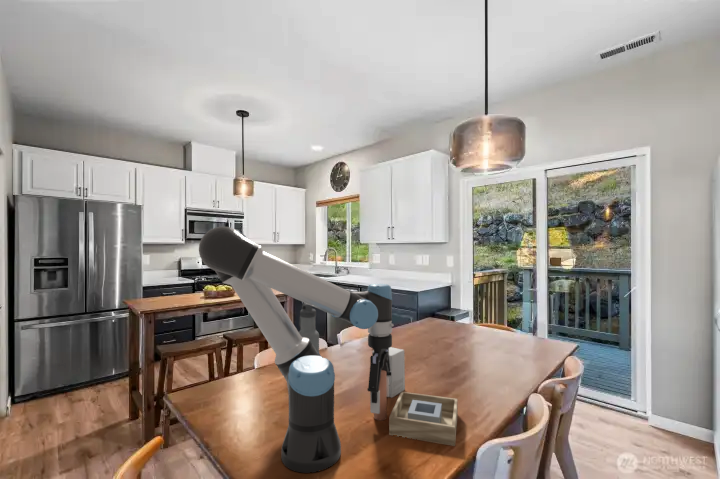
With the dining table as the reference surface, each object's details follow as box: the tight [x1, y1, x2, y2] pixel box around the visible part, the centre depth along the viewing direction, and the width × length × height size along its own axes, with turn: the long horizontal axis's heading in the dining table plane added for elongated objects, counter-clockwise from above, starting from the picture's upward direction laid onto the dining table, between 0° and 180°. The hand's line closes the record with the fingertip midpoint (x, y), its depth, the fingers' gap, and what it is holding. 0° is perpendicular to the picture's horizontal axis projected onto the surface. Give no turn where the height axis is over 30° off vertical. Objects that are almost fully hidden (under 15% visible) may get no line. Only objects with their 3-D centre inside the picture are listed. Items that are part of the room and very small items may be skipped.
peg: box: [373, 370, 388, 421], centre depth 108 cm, size 4×4×14 cm
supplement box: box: [371, 346, 406, 399], centre depth 127 cm, size 9×9×15 cm
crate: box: [388, 391, 458, 447], centre depth 103 cm, size 18×18×5 cm
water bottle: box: [298, 302, 320, 353], centre depth 153 cm, size 10×10×28 cm
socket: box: [408, 400, 442, 424], centre depth 103 cm, size 9×9×4 cm
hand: (380, 403), depth 108 cm, fingers open, 11 cm apart
